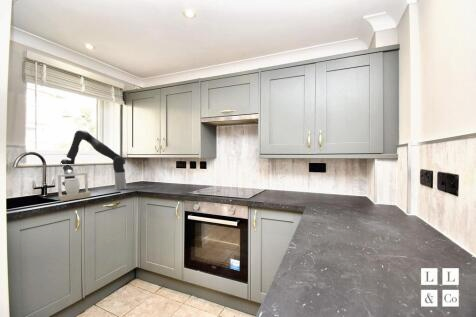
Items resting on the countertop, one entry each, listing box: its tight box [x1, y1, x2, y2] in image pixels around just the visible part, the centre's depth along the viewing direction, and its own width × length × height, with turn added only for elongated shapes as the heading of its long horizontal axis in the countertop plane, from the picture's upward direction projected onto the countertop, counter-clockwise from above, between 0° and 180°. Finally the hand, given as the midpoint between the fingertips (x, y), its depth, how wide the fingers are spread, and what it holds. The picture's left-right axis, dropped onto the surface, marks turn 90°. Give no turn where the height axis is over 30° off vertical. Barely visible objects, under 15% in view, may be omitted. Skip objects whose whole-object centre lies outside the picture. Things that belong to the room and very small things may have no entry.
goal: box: [57, 172, 92, 201], centre depth 178 cm, size 14×20×20 cm
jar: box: [64, 177, 81, 195], centre depth 188 cm, size 11×10×15 cm
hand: (71, 190), depth 192 cm, fingers closed
